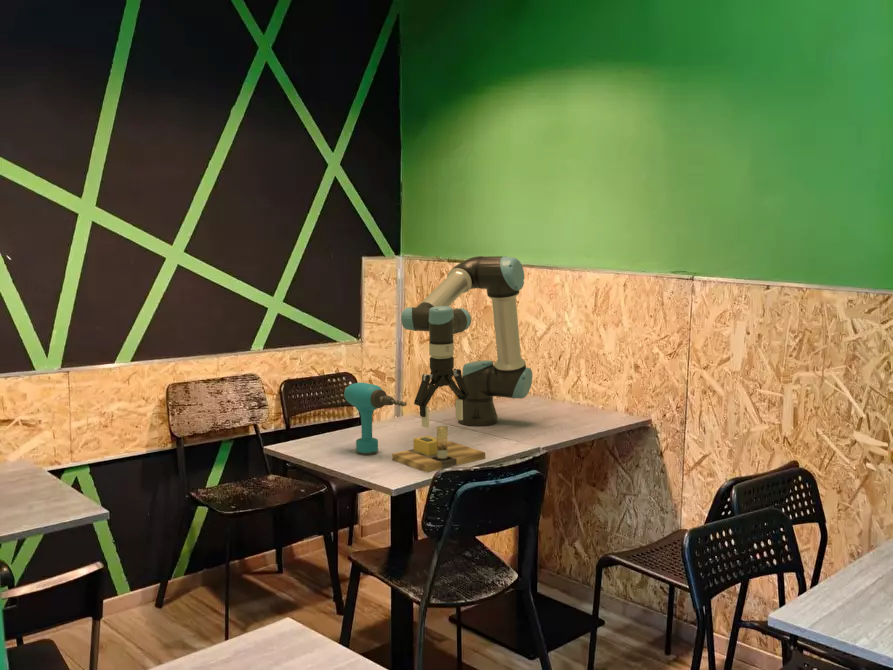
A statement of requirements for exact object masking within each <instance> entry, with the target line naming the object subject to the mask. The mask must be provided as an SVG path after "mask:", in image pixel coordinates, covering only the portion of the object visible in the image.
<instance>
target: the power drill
mask: <svg viewBox="0 0 893 670" xmlns="http://www.w3.org/2000/svg"><path fill="white" fill-rule="evenodd" d="M343 396H344V399H345V401H347V403H349V405H351V406H353V407H354V408H356V410H357V411H358V412H359V414H360V425H361V427H360V428H361V437H360V438H357V439H356V441H355V448H356V449H355V452H356V454H358V455H363V456H370V455H375V454H378V452H379V440H378V438H375V437H373V416H374V415H373V413H374V411H376V410H377V409H382V408H383V407H385V406H393V405H395V406H397V405H398V406H399V407H400V406H401V407H407V405H408V404H407V402H406V401H403V400H399V399H397V400H396V399H395V398H394V397H392V396H390V395H388V394H387V393H386V390H383V389H382V388H381V387H380V386H379V385H378V384H373V383H368V382H355V383H351V384H350V385H348V386H346V387H345V389H344V391H343Z"/></svg>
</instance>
